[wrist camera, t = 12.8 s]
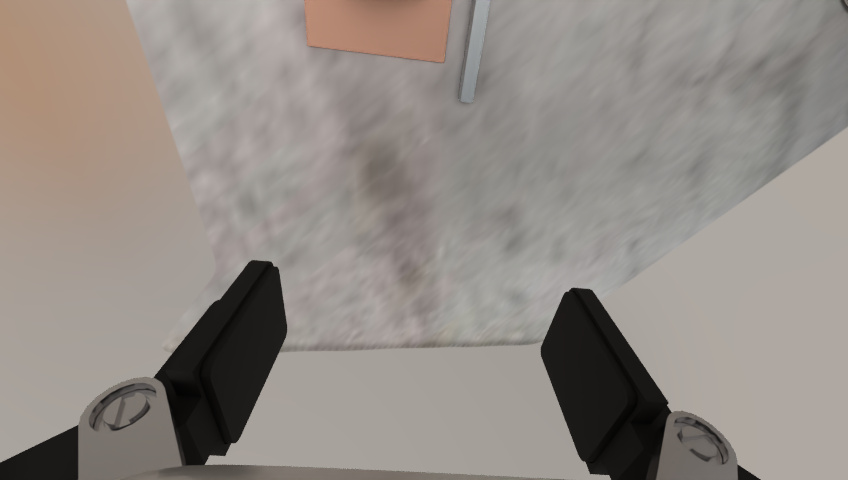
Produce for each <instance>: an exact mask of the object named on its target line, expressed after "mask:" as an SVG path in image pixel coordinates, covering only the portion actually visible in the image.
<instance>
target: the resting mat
mask: <svg viewBox="0 0 848 480" xmlns="http://www.w3.org/2000/svg"><path fill="white" fill-rule="evenodd" d="M304 1H305V17H306V33H307V46H314V47H322V48H330V49H338V50H346V51H354V52H362V53H370V54H378V55H386V56H394V57H402V58H410V59H418V60H426V61H434V62H442V63H444V58H445V50H446V43H447V35H448V27H449V19H450V11H451V3H452V0H304Z"/></svg>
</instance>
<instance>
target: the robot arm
mask: <svg viewBox="0 0 848 480" xmlns="http://www.w3.org/2000/svg"><path fill="white" fill-rule="evenodd" d="M844 2H845V3H846V5H847V6H848V0H844ZM286 334H287V322H286V316H285V309H284V302H283V295H282V288H281V281H280V274H279V269H278V267H274V266H273V264H272V262H269V261H257V260H252V261H250V262H249V263H248V264H247V266H246V267H245V268H244V270H243V271H242V272H241V273H240V275H239V276H238V277H237V279H236V280H235V281H234V282H233V284H232V285H231V286H230V288H229V289H228V290H227V291H226V293H225V294H224V295H223V297H222V298H221V299H220V300H217V301H215V302H214V303H213V304H212V305H211V306H210V307H209V308H208V310H207V311H206V312H205V313H204V315H203V316H202V317H201V318H200V320H199V321H198V322H197V323H196V325H195V326H194V327H193V329H192V330H191V331H190V332H189V334H188V335H187V336H186V337H185V339H184V340H183V341H182V342H181V344H180V345H179V346H178V347H177V349H176V350H175V351H174V352H173V354H172V355H171V356H170V357H169V359H168V360H167V361H166V363H165V364H164V365H163V366H162V368H161V369H160V370H159V371H158V373H157V374H156V375H155V377H154V378H148V377H142V378H134V379H130V380H127V381H124V382H121V383H119V384H117V385H115V386H113V387H111V388H109V389H108V390H106V391H105V392H103V393H102V394H100V395H99V396H97V397H96V398H95V399H94V400H93V401H92V402H91V403H90V404H89V405H88V406H87V408H86V409H85V411H84V412H83V414H82V415H81V418H80V422H79V425H77V426H75V427H73V428H71V429H69V430H67V431H65V432H63V433H61V434H59V435H57V436H55V437H52V438H50V439H48V440H46V441H44V442H42V443H40V444H38V445H36V446H34V447H32V448H30V449H28V450H25V451H23V452H22V453H19V454H18V455H15V456H13V457H11V458H9V459H7V460H5V461H3V462H1V463H0V480H561V479H543V478H523V477H506V476H485V475H466V474H445V473H425V472H404V471H382V470H361V469H360V470H359V469H337V468H313V467H291V466H254V465H205V463H206V461H207V459H208V457H209V455H217V456H225V455H226V453H227V451H228V449H229V447H230V445H231V443H236V442H237V441H238V440H239V438H240V436H241V434H242V432H243V430H244V427H245V425H246V423H247V421H248V419H249V417H250V414H251V412H252V410H253V408H254V406H255V403H256V401H257V399H258V397H259V395H260V392H261V390H262V388H263V386H264V384H265V382H266V379H267V377H268V375H269V373H270V370H271V368H272V366H273V364H274V362H275V360H276V357H277V355H278V353H279V351H280V349H281V347H282V344H283V342H284V340H285V338H286ZM541 357H542V359H543V362H544V365H545V367H546V370H547V373H548V375H549V378H550V380H551V383H552V386H553V389H554V391H555V394H556V396H557V399H558V402H559V405H560V407H561V410H562V412H563V415H564V418H565V421H566V423H567V426H568V428H569V431H570V434H571V436H572V439H573V442H574V444H575V447H576V450H577V452H578V455H579V457H580V458H581V460H582V461H585V462H586V464H587V467H588V469H589V472H590V474H600V475H609V476H610V478H611V480H760V479H759V478H757V477H756V476H754V475H753V474H751V473H750V472H748V471H747V470H745V469H744V468H742V467H741V466H739V465H738V464H737V458H736V454H735V452H734V450H733V448H732V447H731V445H730V443H729V442H728V441H727V439H726V438H725V437H724V436H723V435H722V434H721V433H720V432H719V431H718V430H717V429H716V428H715V427H714V426H713V425H711V424H709V423H708V422H707V421H705V420H704V419H702V418H700V417H698V416H696V415H694V414H692V413H688V412H684V411H675V412H671V411H670V409H669V408H668V406H667V404H668V401H667V400H666V398H665V397H664V395H663V394H662V392H661V391H660V389H659V388H658V387H657V385H656V383H655V382H654V380H653V379H652V378H651V376H650V375H649V373H648V372H647V370H646V369H645V367H644V366H643V364H642V363H641V361H640V360H639V358H638V357H637V355H636V354H635V352H634V351H633V350H632V348H631V347H630V345H629V344H628V342H627V341H626V339H625V338H624V336H623V335H622V333H621V332H620V330H619V329H618V327H617V326H616V325H615V323H614V322H613V320H612V319H611V317H610V316H609V314H608V313H607V311H606V310H605V309H604V307H603V305H602V304H601V302H600V301H599V300H598V298H597V297H596V295H595V294H594V292H593V291H592V290H590V289H582V288H571V289H570V290H569V292H565V293H564V295H563V297H562V300H561V302H560V304H559V307H558V309H557V311H556V314H555V316H554V318H553V321H552V323H551V325H550V327H549V330H548V332H547V334H546V337H545V339H544V341H543V344H542V346H541Z"/></svg>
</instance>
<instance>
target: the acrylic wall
mask: <svg viewBox="0 0 848 480" xmlns="http://www.w3.org/2000/svg"><path fill="white" fill-rule="evenodd" d="M490 1H491V0H473V2H472V8H471V15H470V22H469V28H468V35H467V41H466V48H465V55H464V61H463V68H462V74H461V81H460V87H459V94H458V99H459V100H460V102H467V103H473V98H474V92H475V87H476V81H477V75H478V70H479V64H480V58H481V52H482V47H483V41H484V35H485V30H486V24H487V18H488V12H489V7H490Z"/></svg>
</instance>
